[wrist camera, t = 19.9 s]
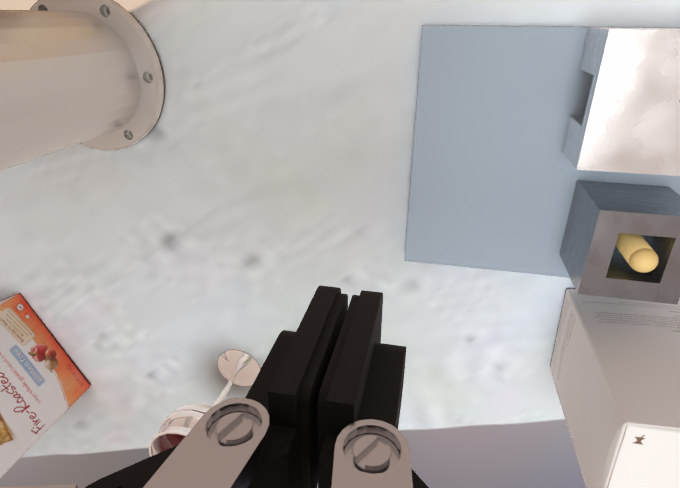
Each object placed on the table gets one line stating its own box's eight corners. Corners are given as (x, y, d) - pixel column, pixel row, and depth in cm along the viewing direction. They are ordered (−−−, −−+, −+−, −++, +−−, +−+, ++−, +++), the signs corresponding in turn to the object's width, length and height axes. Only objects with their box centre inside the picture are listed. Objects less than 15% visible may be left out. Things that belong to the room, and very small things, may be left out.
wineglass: (240, 333, 49) (182, 420, 38) (281, 379, 51) (236, 475, 40) (197, 357, 52) (133, 445, 41) (237, 400, 53) (185, 495, 43)
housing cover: (561, 151, 33) (576, 169, 29) (588, 27, 30) (609, 29, 26) (670, 157, 32) (701, 177, 28) (711, 28, 29) (753, 30, 25)
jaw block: (576, 180, 34) (600, 210, 29) (668, 186, 33) (710, 218, 28) (559, 253, 37) (577, 293, 31) (643, 261, 36) (677, 304, 30)
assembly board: (406, 252, 41) (396, 305, 34) (423, 25, 33) (415, 28, 26) (658, 277, 38) (711, 343, 30) (744, 28, 30) (846, 33, 22)
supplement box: (546, 370, 43) (589, 525, 30) (564, 285, 39) (622, 421, 26) (656, 382, 42) (752, 553, 28) (686, 295, 38) (814, 446, 24)
